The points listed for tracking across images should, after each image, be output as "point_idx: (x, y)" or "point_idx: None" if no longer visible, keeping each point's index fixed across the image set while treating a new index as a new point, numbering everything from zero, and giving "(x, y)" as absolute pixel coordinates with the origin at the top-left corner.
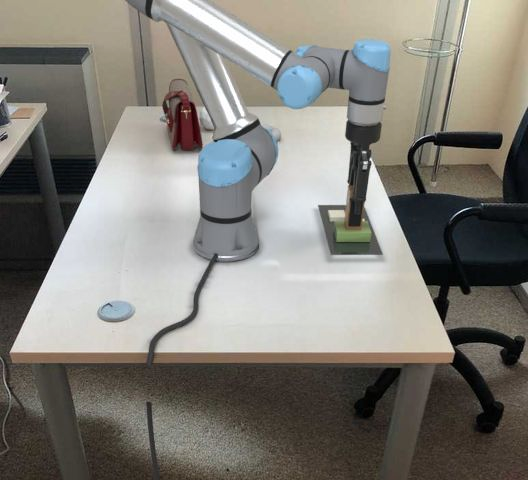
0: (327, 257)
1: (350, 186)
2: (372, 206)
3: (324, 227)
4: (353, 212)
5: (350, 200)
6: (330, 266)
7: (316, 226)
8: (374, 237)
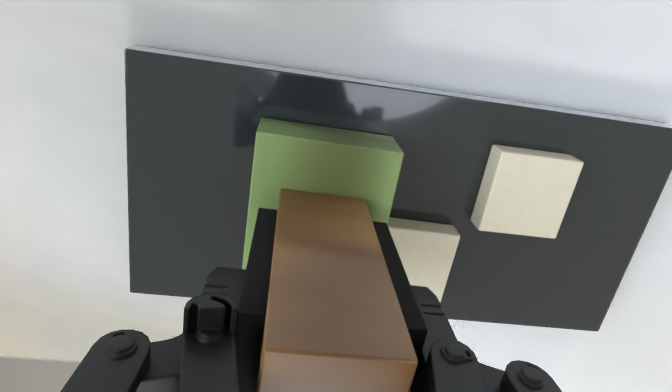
0: (172, 39)
1: (385, 375)
2: (599, 354)
3: (436, 98)
4: (233, 273)
5: (189, 304)
6: (75, 29)
7: (507, 72)
8: None
